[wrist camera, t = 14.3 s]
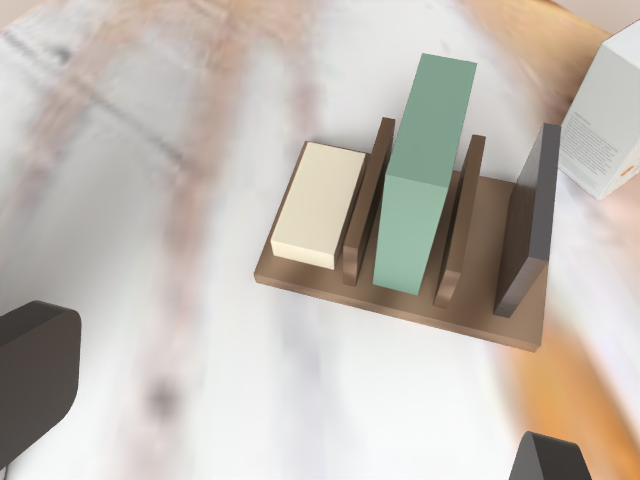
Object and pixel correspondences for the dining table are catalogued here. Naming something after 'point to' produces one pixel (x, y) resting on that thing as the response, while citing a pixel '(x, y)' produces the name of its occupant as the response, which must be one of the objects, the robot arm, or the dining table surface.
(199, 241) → the dining table surface
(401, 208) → the book
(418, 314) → the book rack
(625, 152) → the small box
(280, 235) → the toppled book
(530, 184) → the bookend
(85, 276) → the dining table surface
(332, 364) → the dining table surface
